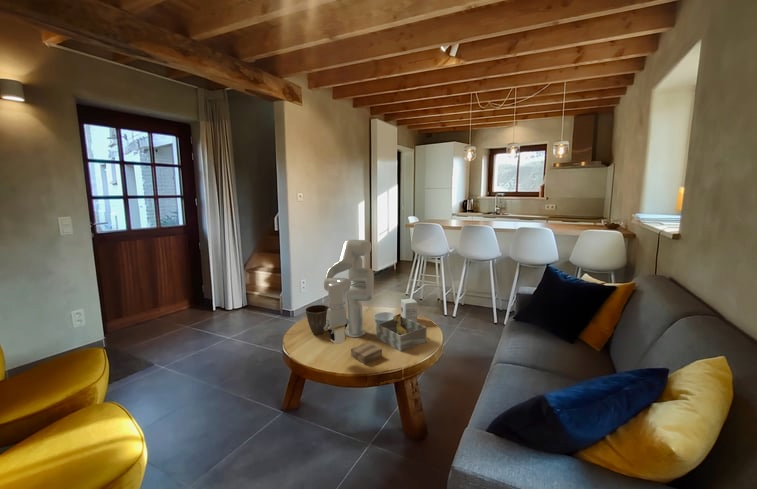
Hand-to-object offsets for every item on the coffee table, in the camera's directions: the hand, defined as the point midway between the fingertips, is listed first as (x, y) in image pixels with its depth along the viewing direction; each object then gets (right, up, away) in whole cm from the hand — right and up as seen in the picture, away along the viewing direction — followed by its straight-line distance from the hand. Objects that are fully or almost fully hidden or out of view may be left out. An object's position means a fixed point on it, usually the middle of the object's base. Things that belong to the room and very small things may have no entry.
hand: (337, 337), depth 180 cm
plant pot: (-17, -8, +39) cm, 44 cm away
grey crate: (+35, -9, +27) cm, 46 cm away
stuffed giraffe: (+35, -9, +27) cm, 45 cm away
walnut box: (+15, -13, +6) cm, 21 cm away
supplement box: (+43, -4, +56) cm, 70 cm away
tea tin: (0, -2, 0) cm, 2 cm away
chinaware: (+26, -6, +46) cm, 53 cm away
